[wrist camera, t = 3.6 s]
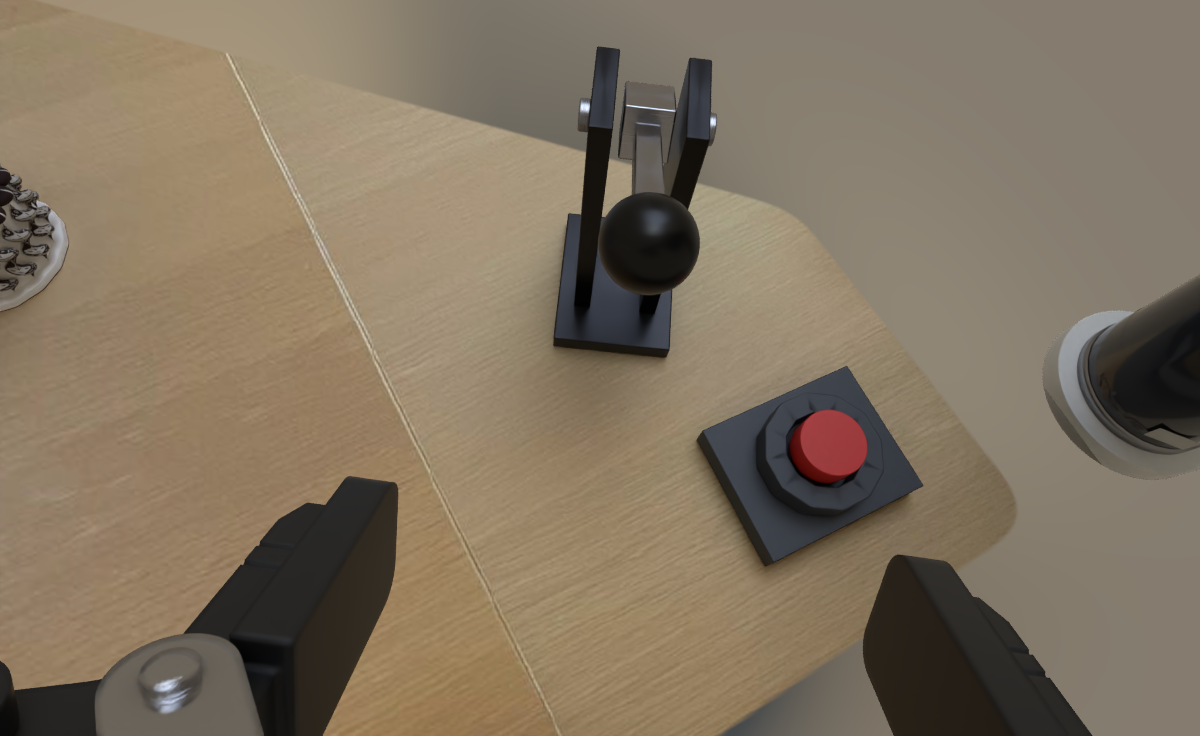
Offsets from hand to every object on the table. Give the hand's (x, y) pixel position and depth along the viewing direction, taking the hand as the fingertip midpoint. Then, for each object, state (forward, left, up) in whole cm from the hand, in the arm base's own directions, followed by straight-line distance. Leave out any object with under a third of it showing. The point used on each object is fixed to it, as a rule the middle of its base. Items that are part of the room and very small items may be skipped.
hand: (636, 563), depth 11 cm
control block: (-16, -2, -27) cm, 32 cm away
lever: (-8, -13, -12) cm, 19 cm away
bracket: (-11, -17, -27) cm, 34 cm away
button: (-16, -2, -24) cm, 29 cm away
